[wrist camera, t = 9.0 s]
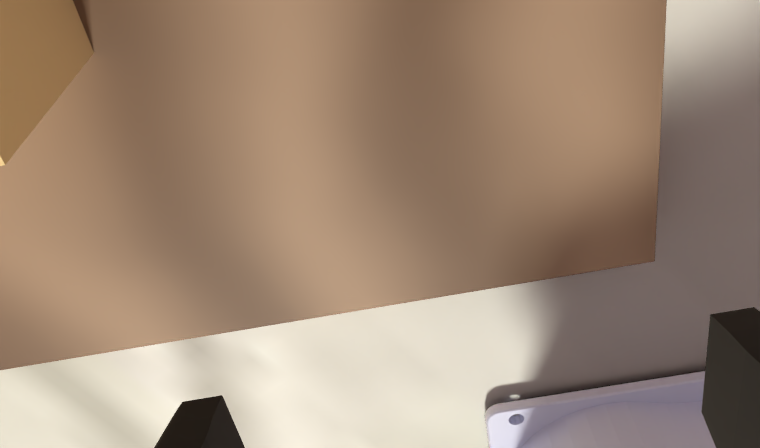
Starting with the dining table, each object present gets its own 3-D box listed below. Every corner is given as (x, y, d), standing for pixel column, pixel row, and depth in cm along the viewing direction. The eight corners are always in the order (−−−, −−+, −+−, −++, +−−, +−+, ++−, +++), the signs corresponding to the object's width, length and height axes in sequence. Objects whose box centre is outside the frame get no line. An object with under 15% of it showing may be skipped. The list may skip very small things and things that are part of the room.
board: (657, -560, 12) (693, -596, 11) (635, 230, 21) (654, 261, 19) (-562, -280, 13) (-656, -283, 12) (-93, 353, 22) (-119, 389, 21)
